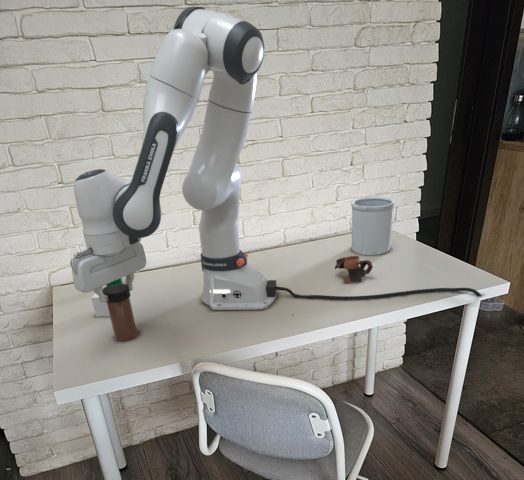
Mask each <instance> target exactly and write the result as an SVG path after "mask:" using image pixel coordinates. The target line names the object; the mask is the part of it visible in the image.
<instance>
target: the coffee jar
mask: <svg viewBox="0 0 524 480" xmlns="http://www.w3.org/2000/svg"><path fill="white" fill-rule="evenodd" d="M130 297H131V296H130ZM130 297H129V298H128V299H126V300H124V301H120V302H106V303H107V307H108V311H109V315H110V316H109V319H110V323H111V327H112V331H113V335H114V339H115V340H116V341H119V342H126V341H127V342H128V341H131V340H133V339H135V338H136V337H137V336H138V330H137V325H136V321H135V316H134V311H133V307H132V303H131V298H130Z"/></svg>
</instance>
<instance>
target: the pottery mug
mask: <svg viewBox="0 0 524 480" xmlns="http://www.w3.org/2000/svg"><path fill="white" fill-rule="evenodd" d="M335 262H336V264H335V266H334V270H337V269H340V270H341V269H342V270H343V269H344V270H346V271H347V273H348V274H346V275H343V276H342V281H343V283H344V284H346V283H352V282H353V283H356V282H362V278H365V276H366V275H369V273H370V272H371V271H372V270H373V267H374V266H373V263H372V261H371V260H369V259H365V260H361V259H360V256H359V255H351V256H344V257H340V258H338V259H336V261H335ZM366 266H367V268H366ZM365 268H366V269H365Z"/></svg>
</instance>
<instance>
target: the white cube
mask: <svg viewBox="0 0 524 480" xmlns="http://www.w3.org/2000/svg"><path fill="white" fill-rule="evenodd" d="M91 302H92V303H91V304H92V306H93V311H94V314H95V317H98V318H99V317H110V315H109V311H108V307H107V303H101V302H100V299H99V296H98V295H97V294H96V293H95V292H94V294H93V295H92V296H91Z"/></svg>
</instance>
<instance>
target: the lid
mask: <svg viewBox="0 0 524 480" xmlns="http://www.w3.org/2000/svg"><path fill="white" fill-rule="evenodd" d="M102 292H103V294H106V295H108V297H109V298H108V299H109V301H108V302H120V301H124V300H126V299H128V298H129V297H131V291H130V290H129V286H128V285H126V284H125V283H122V284H114V285H110V286H104V288H103V290H102Z"/></svg>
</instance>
